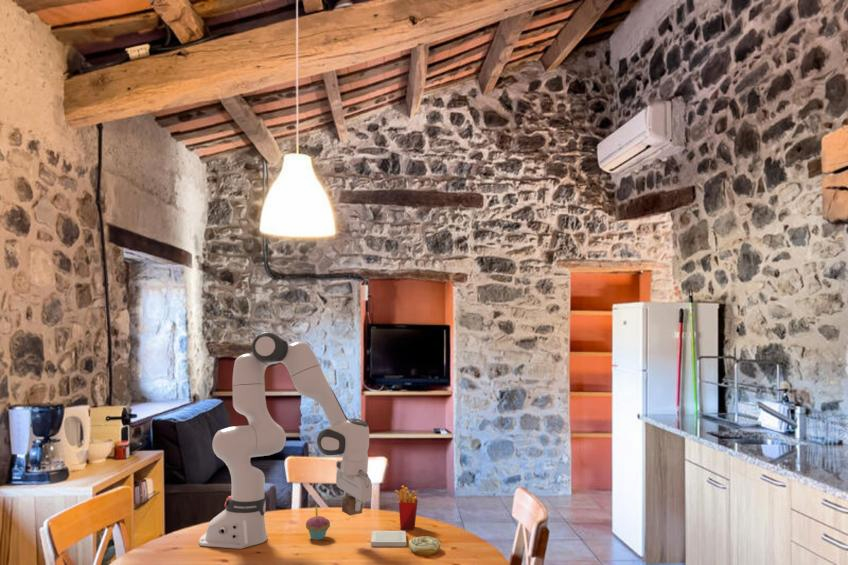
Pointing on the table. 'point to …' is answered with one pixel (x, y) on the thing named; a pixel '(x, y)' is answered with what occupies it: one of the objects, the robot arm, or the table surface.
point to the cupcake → (317, 526)
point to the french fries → (407, 508)
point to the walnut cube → (350, 505)
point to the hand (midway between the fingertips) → (352, 507)
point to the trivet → (388, 538)
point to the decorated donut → (424, 545)
